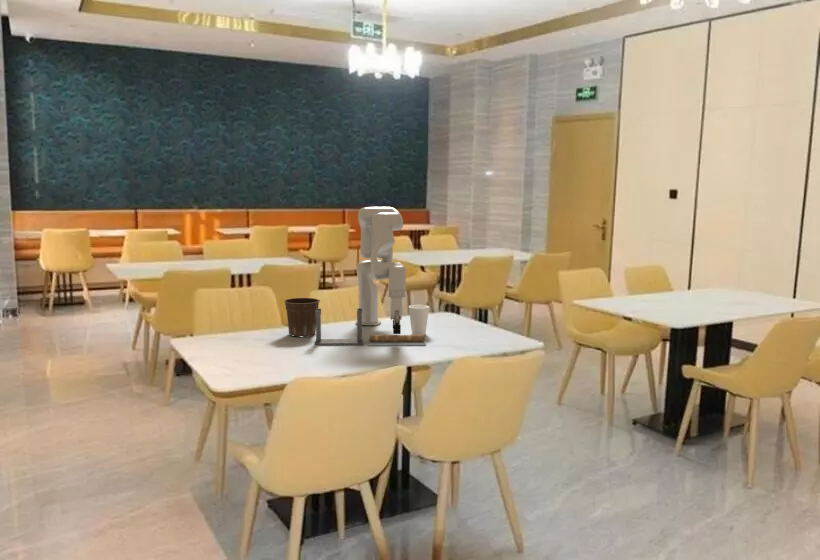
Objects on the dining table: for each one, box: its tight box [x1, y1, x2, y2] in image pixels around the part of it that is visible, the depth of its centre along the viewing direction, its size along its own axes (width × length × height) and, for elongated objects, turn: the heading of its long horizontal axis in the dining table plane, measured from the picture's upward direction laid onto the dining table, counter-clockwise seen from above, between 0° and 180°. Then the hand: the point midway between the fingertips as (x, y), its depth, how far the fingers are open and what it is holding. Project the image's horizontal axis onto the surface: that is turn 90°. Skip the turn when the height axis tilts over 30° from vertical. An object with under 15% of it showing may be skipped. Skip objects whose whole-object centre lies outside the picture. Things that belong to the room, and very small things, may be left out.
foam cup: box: [408, 304, 430, 336], centre depth 333 cm, size 10×9×13 cm
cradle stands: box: [314, 307, 364, 346], centre depth 313 cm, size 8×21×15 cm, turn 92°
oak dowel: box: [369, 334, 425, 342], centre depth 315 cm, size 24×3×3 cm, turn 92°
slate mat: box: [368, 338, 427, 347], centre depth 315 cm, size 11×25×1 cm, turn 92°
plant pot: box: [284, 297, 321, 337], centre depth 330 cm, size 16×16×16 cm
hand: (396, 331), depth 315 cm, fingers open, 9 cm apart
